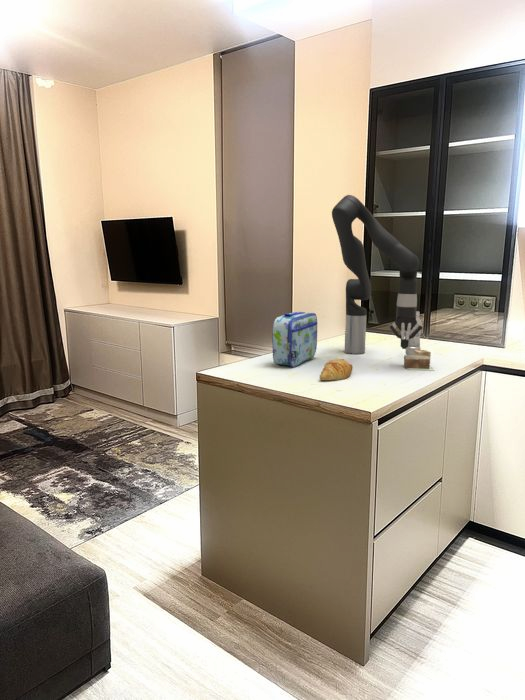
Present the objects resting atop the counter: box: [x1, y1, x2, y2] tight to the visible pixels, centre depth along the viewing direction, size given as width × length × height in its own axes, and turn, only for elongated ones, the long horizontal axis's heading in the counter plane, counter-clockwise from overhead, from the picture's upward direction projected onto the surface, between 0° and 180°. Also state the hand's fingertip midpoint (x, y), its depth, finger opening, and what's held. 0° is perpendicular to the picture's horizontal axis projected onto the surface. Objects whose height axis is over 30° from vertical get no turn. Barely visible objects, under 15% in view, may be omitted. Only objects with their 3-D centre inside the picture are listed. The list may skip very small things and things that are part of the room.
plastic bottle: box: [404, 310, 423, 355], centre depth 228 cm, size 6×7×20 cm
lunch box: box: [271, 311, 318, 368], centre depth 215 cm, size 26×11×21 cm, turn 150°
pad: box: [406, 364, 435, 372], centre depth 208 cm, size 10×10×1 cm
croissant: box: [319, 358, 354, 381], centre depth 192 cm, size 21×10×8 cm, turn 143°
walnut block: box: [403, 354, 431, 369], centre depth 208 cm, size 4×6×9 cm
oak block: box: [414, 349, 432, 359], centre depth 217 cm, size 5×5×5 cm
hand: (404, 348), depth 208 cm, fingers closed
